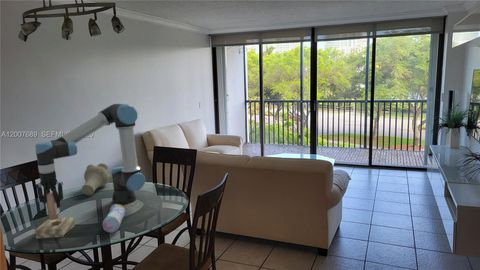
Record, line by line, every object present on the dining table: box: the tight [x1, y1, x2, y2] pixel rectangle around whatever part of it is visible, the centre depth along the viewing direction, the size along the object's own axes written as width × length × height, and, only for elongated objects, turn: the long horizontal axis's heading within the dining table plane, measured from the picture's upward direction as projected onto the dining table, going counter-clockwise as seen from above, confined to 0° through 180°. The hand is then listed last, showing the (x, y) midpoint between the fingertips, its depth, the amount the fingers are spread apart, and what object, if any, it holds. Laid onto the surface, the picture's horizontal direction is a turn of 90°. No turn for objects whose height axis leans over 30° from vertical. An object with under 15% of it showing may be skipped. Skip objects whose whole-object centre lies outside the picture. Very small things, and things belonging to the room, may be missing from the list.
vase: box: [81, 163, 112, 196], centre depth 248 cm, size 22×22×28 cm
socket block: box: [34, 217, 76, 239], centre depth 185 cm, size 14×14×4 cm
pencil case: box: [102, 204, 126, 234], centre depth 189 cm, size 21×9×10 cm, turn 9°
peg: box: [46, 192, 59, 220], centre depth 183 cm, size 4×4×14 cm
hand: (53, 213), depth 184 cm, fingers closed on peg, 4 cm apart
